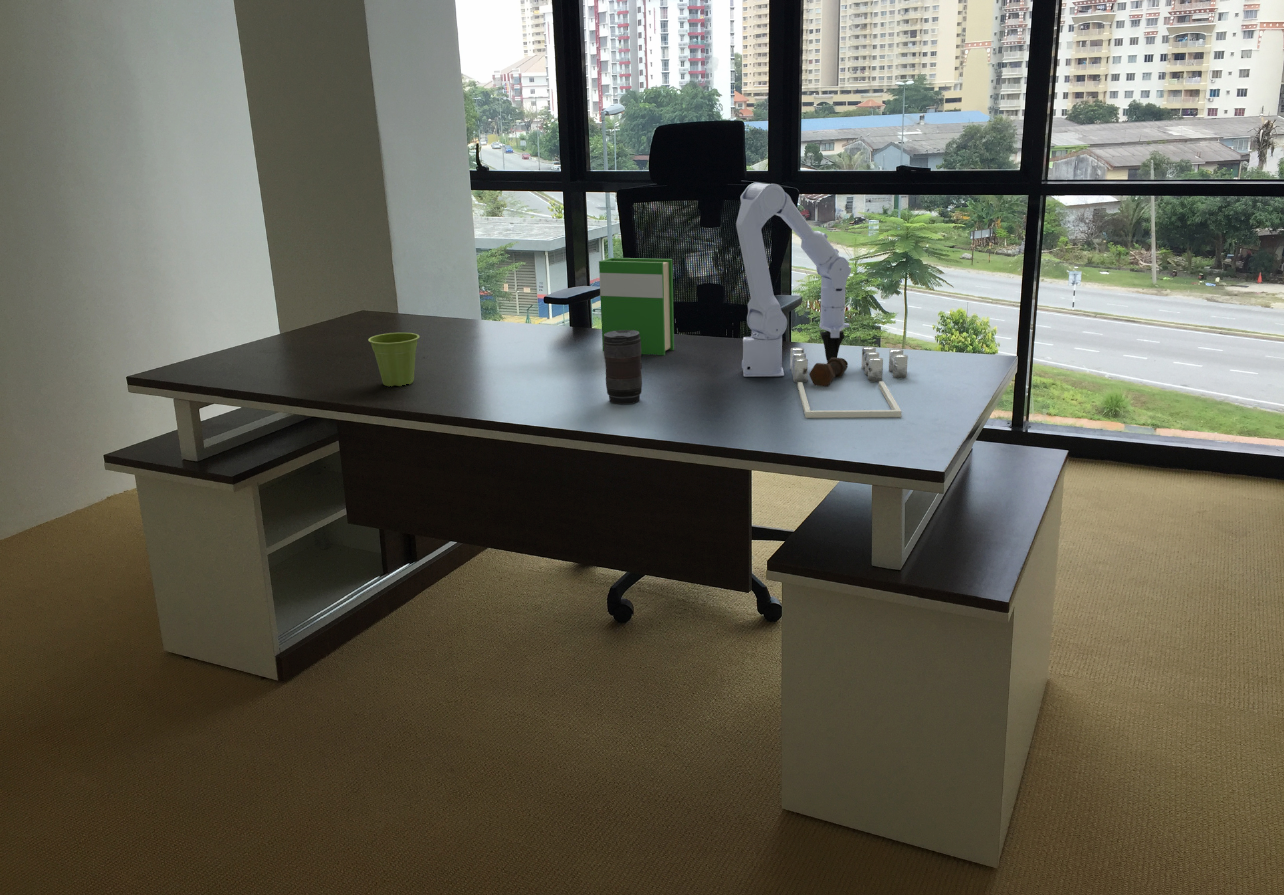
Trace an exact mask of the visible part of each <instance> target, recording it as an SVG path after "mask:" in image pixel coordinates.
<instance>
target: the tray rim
mask: <svg viewBox="0 0 1284 895" xmlns="http://www.w3.org/2000/svg"><path fill="white" fill-rule="evenodd" d="M878 388H879V390H880V391H881V392H882V394H883V397H884V398H885V400H886V402H887V403H888V405H889V407H890V409H872V410H871V409H867V410H865V409H863V410H862V409H855V410H854V409H853V410H852V409H851V410H850V409H849V410H845V409H844V410H811V407H810V404H809V402H808V397H807V394H806V391H805V387H804V384H803V383H802V382H798V383H797V389H798V390H799V391H798V390H797V391H798V394H799V398H800V402H801V404H802V409H803V413H804V417H805V419H806V418H807V419H811V418H814V419H815V418H816V419H818V418H822V419H823V418H825V419H826V418H829V419H830V418H834V419H835V418H837V419H838V418H902V410H901V408H900V406H899V404H898V403H897V401H896V400H895V398H894V397H893V394H892V393H891V391H890V390H889V387H887V385H886V383H885V381H883V380H882V381H879V382H878Z"/></svg>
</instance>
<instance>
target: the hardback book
mask: <svg viewBox="0 0 1284 895" xmlns="http://www.w3.org/2000/svg"><path fill="white" fill-rule="evenodd" d="M673 271H674V270H673V259H672V258H643V257H642V258H640V257H639V258H635V257H634V258H633V257H632V258H631V257H608V258H606V259H605V258H604V259H602V260H600V261H598V272H599V273H598V274H599V292H600V293H599V296H600V298H599V299H600V317H601V320H600V321H601V339H602V340H601V341H602V342H601V343H602V345H601V346H602V352H603V353H604V345H603V341H604V340H603V339H604V334H605V333H608V332H611V331H618V330H634V331H638V332H639V335H640V339H641V355H650V354H653V355H654V354H655V355H654V356H665V355H666V351H674V350H675V325H674V280H673V278H674V276H673ZM656 354H657V355H656ZM653 355H652V356H653Z"/></svg>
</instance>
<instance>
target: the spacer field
mask: <svg viewBox="0 0 1284 895" xmlns="http://www.w3.org/2000/svg"><path fill="white" fill-rule="evenodd" d="M876 351H877V349H876V347H875V346H863V347H862V348H861V369H862V370H864V375H865V374H866V375H865V376H867V380H869V381H868V382H870V383H871V382H872V383H879V381H883V372H884V371H883V369H884V358H882V357H880V353H879V352H878V351H877V352H876ZM908 357H909V356H908V355H907V354H904V349H901V348H891V349H889V355H888V372H889V373H892V376H893V377H892V378H893V379H898V378H903V379H907V376H908V359H909V358H908ZM789 360H790V365H789V366H790V367H789V369H790V370H791V376H792V378H793V382H794V383H797V384H798V382H802V383H807V382H808V368H809V367H808V366H809V362H808V361H809V360H808V359H807V354H806V353H805V348H804V347H791V348H790V359H789Z"/></svg>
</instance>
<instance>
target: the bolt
mask: <svg viewBox="0 0 1284 895" xmlns="http://www.w3.org/2000/svg"><path fill="white" fill-rule="evenodd" d="M848 365H849V364H848V361H847V360H846V359H845V358H842V357H837V358H830V359H829V361H828V362H827V361H826V363H824V362H823V363H821V362H817V363H815V364H814V365H813V366H812V369H811V370H810V371H809V374H808V375H809V378H810V379H811V382H812V384H813V385H814V386H816V385H817V387H829V386H830V385H831V383H832V381H834V379H835V378H841V377H842V376H843V374H844V373H845V372H846V371H847V369H848Z"/></svg>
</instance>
